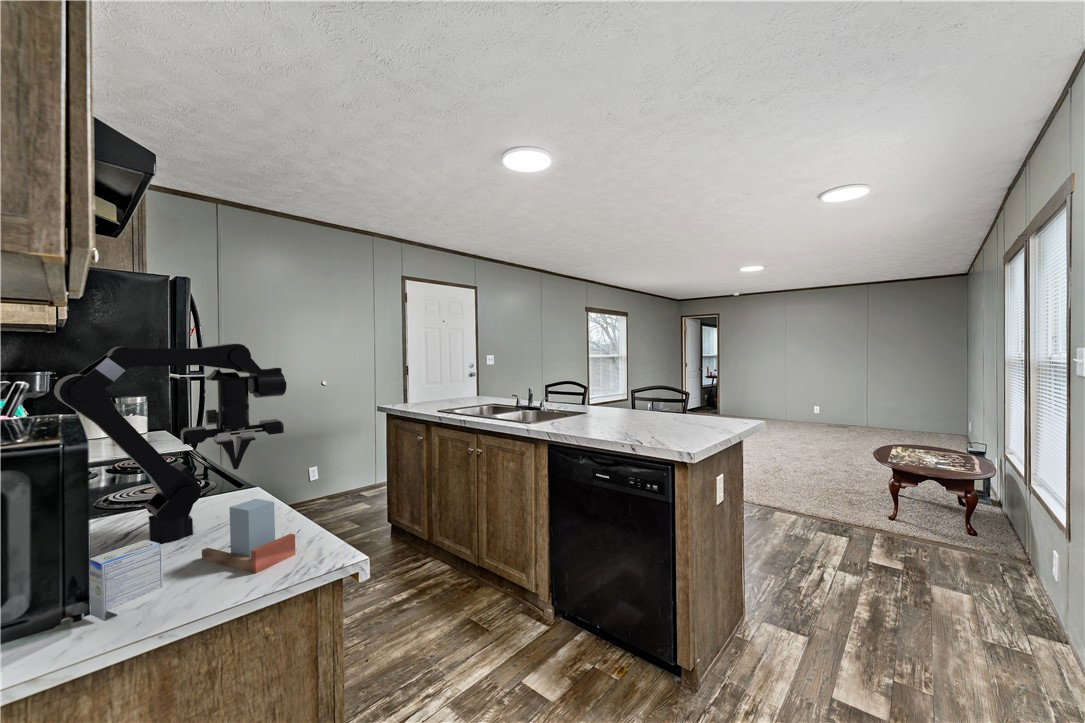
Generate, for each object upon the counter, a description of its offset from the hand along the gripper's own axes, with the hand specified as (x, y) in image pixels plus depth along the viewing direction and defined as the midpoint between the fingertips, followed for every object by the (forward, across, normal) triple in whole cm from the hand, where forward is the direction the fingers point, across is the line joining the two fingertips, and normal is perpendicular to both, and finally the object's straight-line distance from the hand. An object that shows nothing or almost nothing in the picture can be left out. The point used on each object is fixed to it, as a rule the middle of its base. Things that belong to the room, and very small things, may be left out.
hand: (235, 469), depth 105 cm
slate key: (+12, +2, +24) cm, 27 cm away
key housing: (+13, +2, +23) cm, 27 cm away
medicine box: (+13, +19, +26) cm, 35 cm away
